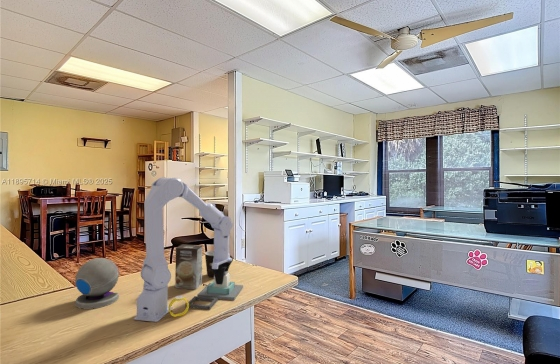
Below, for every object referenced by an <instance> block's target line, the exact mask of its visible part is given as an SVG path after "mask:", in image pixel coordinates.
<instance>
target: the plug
mask: <svg viewBox="0 0 560 364" xmlns="http://www.w3.org/2000/svg"><path fill="white" fill-rule="evenodd" d="M230 279H231V274H230V272H229V270H228V271H225V272H224V278H223V283H222V285H220V284H216V280H215V276H214V278H213V281H214V287H223V288H228V287H229V286H230V282H231V281H230Z"/></svg>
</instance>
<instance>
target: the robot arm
mask: <svg viewBox="0 0 560 364" xmlns="http://www.w3.org/2000/svg"><path fill="white" fill-rule="evenodd" d="M150 187H151V188H150V190H149V191H148V194H147V195H146V197H145V200H144V201H143V202H144V204H143V205H144V228H145V229H144V230H145V233H144V234H145V253H146V255H145V256H146V257H145V258H144V259H143V261H142V264H143V265H142V268H141V269H140V277H141V279H142V280H143V281H144V282H143V284H142V287H143V288H142V291H141V293H140V294H139V295H138V297H137V298H136V316H135V317H134V318H133V320H136V321H142V322H143V321H144V322H145V321H147V322H154V323H155V322H156V323H157V322H160V321H161V319H163V318H164V317H165V316H166V315H167V314H169V313H170V312H169V305H168V286H169V285H168V284H169V283H170V282H171V278H172V273H171V270H170V269H169V267H168V266H169V265H168V264H169V263H168V261H167V259H166V257H165V243H164V240H165V239H164V237H165V236H164V218H163V217H164V216H163V215H164V214H163V211H164V210H163V208H164V207H165V206H167V204H168V203H169V202H170V201H172V200H174V199H176V198H178V197H179V198H182V199H184V200H185V201H186V202H188V203H189V204H190V205H192V206H193V207H195V208H196V209H197V210H198V214H199V216H200V217H201V218H203V219H204V220H205V221H206V222H208V224H210V225H211V228H212V229H213V233H214V234H213V251H214V258H213V263H212V266H211V269H212V271H213V273H214V276H215V280H216V284H220V285H222V283H223V278H224V272H225V271H228V272H229V269H230V266H231V264H232V263H231V261H232V258H231V257H230V256H231V254H230V235H231V229H232V228H233V225H234V223H233V222H232V219H231V217H229V216H227V215H225V214H224V211H220V210H219V209H218V208H217V207H216V204H215V203H212V202H205V201H204V200H203V199H202V198H201V197H199V196H198V195H197V193H196V192H195V191H193V190H192V188H190V187H189V186H188V184H187V183H186V182H184V181H182V180H181V179H180V178H178V177H165V176H164V177H163V176H162V177H160V178H157V179H156V180H155V181H154V182H152V183H151V186H150ZM173 308H174V307H173V306H171V310H173Z"/></svg>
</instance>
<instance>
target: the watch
mask: <svg viewBox="0 0 560 364" xmlns="http://www.w3.org/2000/svg"><path fill="white" fill-rule="evenodd" d="M181 301H185V302H186V304H187V307H186V306H185V309H184V311H183V312H180V313H175V314H174V313H173V312H172V311H171V310H172V309H171V307H173V305H174V303H176V302H181ZM188 302H189V301H188V300H187V298H186V297H184V295H176V296H174V298H173V300H171V301H170V303H168V307H169V312H168V313H169V314H170V316H172V317H174V318H177V317H182V316H185V315H186V313H187V312H188V311H189V309H190V308H189V303H188Z"/></svg>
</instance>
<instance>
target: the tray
mask: <svg viewBox="0 0 560 364" xmlns="http://www.w3.org/2000/svg"><path fill="white" fill-rule="evenodd" d="M218 300H219V299H218V298H212V297H199V296H197V295H196V296H195V295H194V296H193V297H192V298H191V299H190V300H189V301H188V303H189V308H188V309H199V310H200V309H201V310H211V309H212V308H213V307H214V306H215V305H216V303H217V302H218ZM195 301H205V302H210V303H209V304H197V303H195V304H194V302H195ZM186 307H187V303H186V304H185V308H186Z"/></svg>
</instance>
